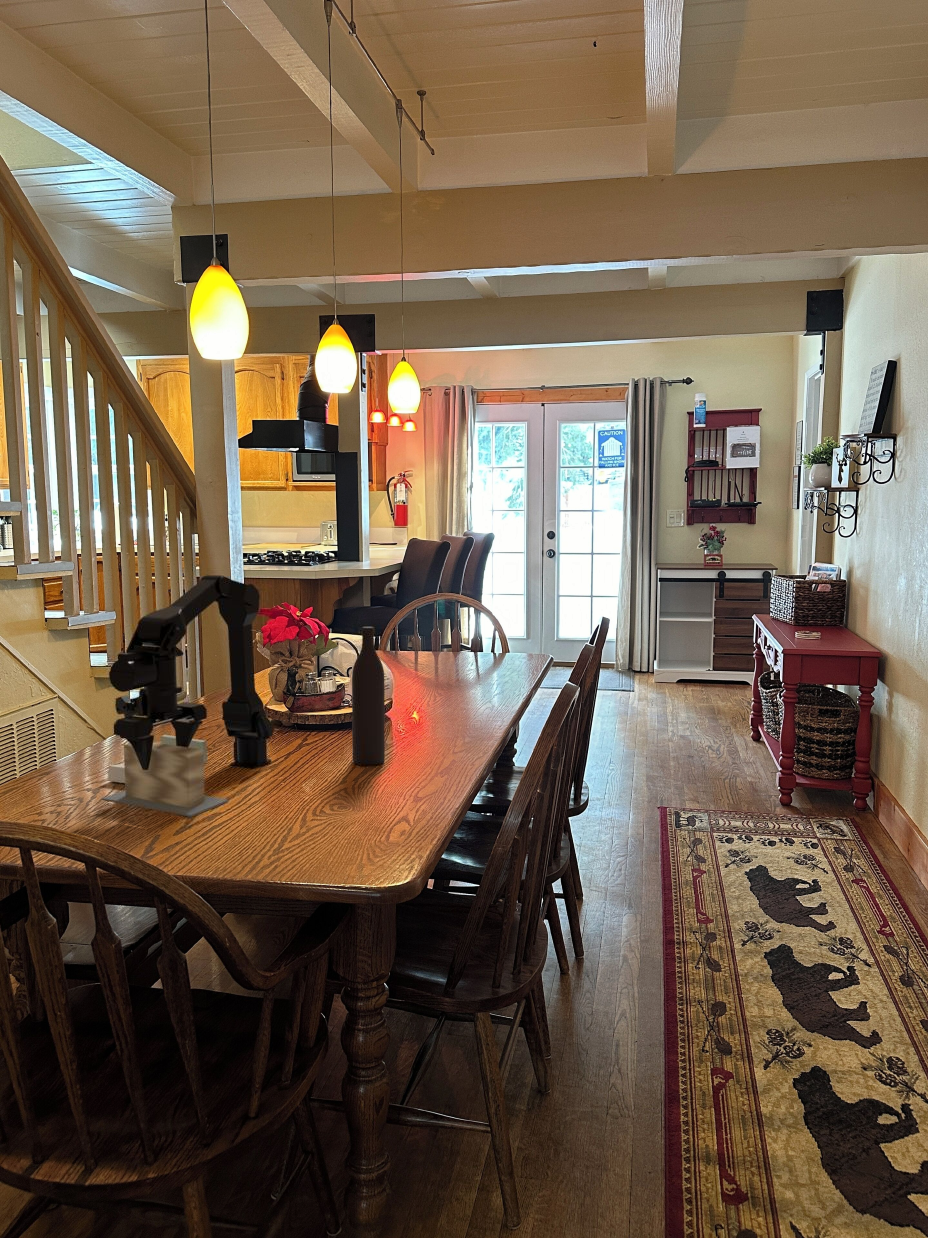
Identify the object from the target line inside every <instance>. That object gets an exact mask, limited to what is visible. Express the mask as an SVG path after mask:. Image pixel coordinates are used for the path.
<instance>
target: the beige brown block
mask: <svg viewBox="0 0 928 1238" xmlns="http://www.w3.org/2000/svg"><path fill="white" fill-rule="evenodd" d="M123 759H124V760H123V764H124V767H125V783H124V787H125V788H124V790H125V794H126V796H130V797H135V798H140V799H146V800H151V801H156V802H162V803H167V804H173V805H178V806H183V807H189V808H190V807H193V806H195V805H198V804H200V803H203V802H205V796H206V795H205V770H204V769H205V767H204V766H205V764H204V758H203V750H201V749H194V748H187V747H181V746H174V745H167V744H161V742H154V741H153V746H152V753H151V759H150V764H149V768H148V770H143V769H142V767H141V765H140V762H139V760H138V758H137V755H136V753H135V751H134V749H133V747H132V745H131V744H130V742H128V743H125V744H123Z"/></svg>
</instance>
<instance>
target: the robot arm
mask: <svg viewBox="0 0 928 1238" xmlns="http://www.w3.org/2000/svg"><path fill="white" fill-rule="evenodd" d="M260 598H261V597H260V592H259V589H258V588H257V587H256V586H255V585H254V584H252V583H243V582H240V581H237V580H234V579H231V578H229V577H227V576H224V575H217V574H215V575H214V574H206V575H204V576H202V577H201V578H200V579H199V581H198V582H197V583H196V584H195V585H194V586H192V587H191V588H190V589H189V590H187V591H186V592H184V594H183V595H181V596H180V597H179V598H178V599H176V600H175V601H174V602H172V603H171V604H170V605H168V606H167V607H165V608H161V609H158V610H153V611H152V612H149V613H147V614H146V615H144V616H142V617H141V618H140V619H139V621H138V623H137V627H136V629H135V631H134V633H133V635H132V637H131V640H130V642H129V643H128V646H127V648H126V650H125V652H119V653H118V654H117V660H116V661H115V662H113V663H112V665H111V667H110V670H109V672H108V676H109V677H108V678H109V681H110V684H111V686H112V687H113V688H114V689H115V690H117V692H121V693H126V692H130V691H134V690H138V689H139V691H138V696H136V697H133V698H130V696H129V695H127V694H126V695H122V696H119V697H116V698H115V705H114V707H115V711H116V713H117V714H118V715H119V716H120V715H123V716H124V717H122V718H118V719H116V720H115V721H114V723H113V735H114V736H119V737H120V738H121V739H123V740H126V741H127V742H128V743H130V744H131V745H132V747H133V749H134V751H135V753H136V755H137V758H138V760H139V762H140V765H141V767H142V769H143V770H148V768H149V764H150V759H151V753H152V746H153V742H154V738H155V735H153V734H152V732H153V731H154V727H156V726H161V725H165V724H168V723H170V724H171V726H172V727H173V730H174V731H175V732H174V733H175V736H176V746H181V747H187V748H188V747H189V745H190V742H191V740H192V739H194V736H195V734H196V733H197V732H198V729H199V727H200V726H201V725H202V724H203V720H206V719H207V718H208V714H207V713H208V711H207V710H208V709H207V708H206V707H205V705H204V704H203V703H196V702H187V701H185V702H180V703H178V694H180V693H183V687H182V686H178V683H177V680H178V679H177V677H178V676H177V658H178V657H181V656H182V657H183V656H184V652H183V651H182V649H180V648H178V646H177V645H178V644H179V643H180V642H181V640H182V639H183V638H184V637H185V636H186V634H187V631H188V625H189V624H190V623H191V622H192V621H194V620H195V619H196V618H197V617H199V615H200V614H201V613H203V612H204V611H205V610H206V609H207V608H208V607H210V605H212V604H213V603H214V602H215V603H217V606H218V611H219V612H218V613H219V615H220V616H221V618H222V620H223V621H224V623H225V624H226V626H227V639H228V654H229V655H228V656H229V657H228V658H229V673H230V676H229V677H230V694H229V696H228V698H227V699H226V701H222V704H221V709H222V718H221V720H222V721H223V723H224V726H225V730H226V734H227V737H230V738H231V737H233V738H234V741H233V760H234V761H232V762H230V764H229V765H230V766H232V767H233V766H234V767H240V768H247V769H256V768H259V767H261V766H264V765H267V764H270V763H271V762H272V759H271V758H268V755H267V754H268V752H267V751H268V748H267V747H268V746H267V741H268V740H267V739H271V737H273V736H274V735H273V734H274V730H275V725H273V723H272V721H271V720H270V719H269V718H268V717H267V716H266V713H265V706H264V702H263V700H262V699H261V697H260V696H259V694H258V692H257V690H256V683H255V681H256V680H255V665H254V661H255V660H254V659H255V658H254V643H253V640H254V639H253V623H254V621H255V619H256V617H257V616H258V614H259V612H260V611H259V610H260Z"/></svg>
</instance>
